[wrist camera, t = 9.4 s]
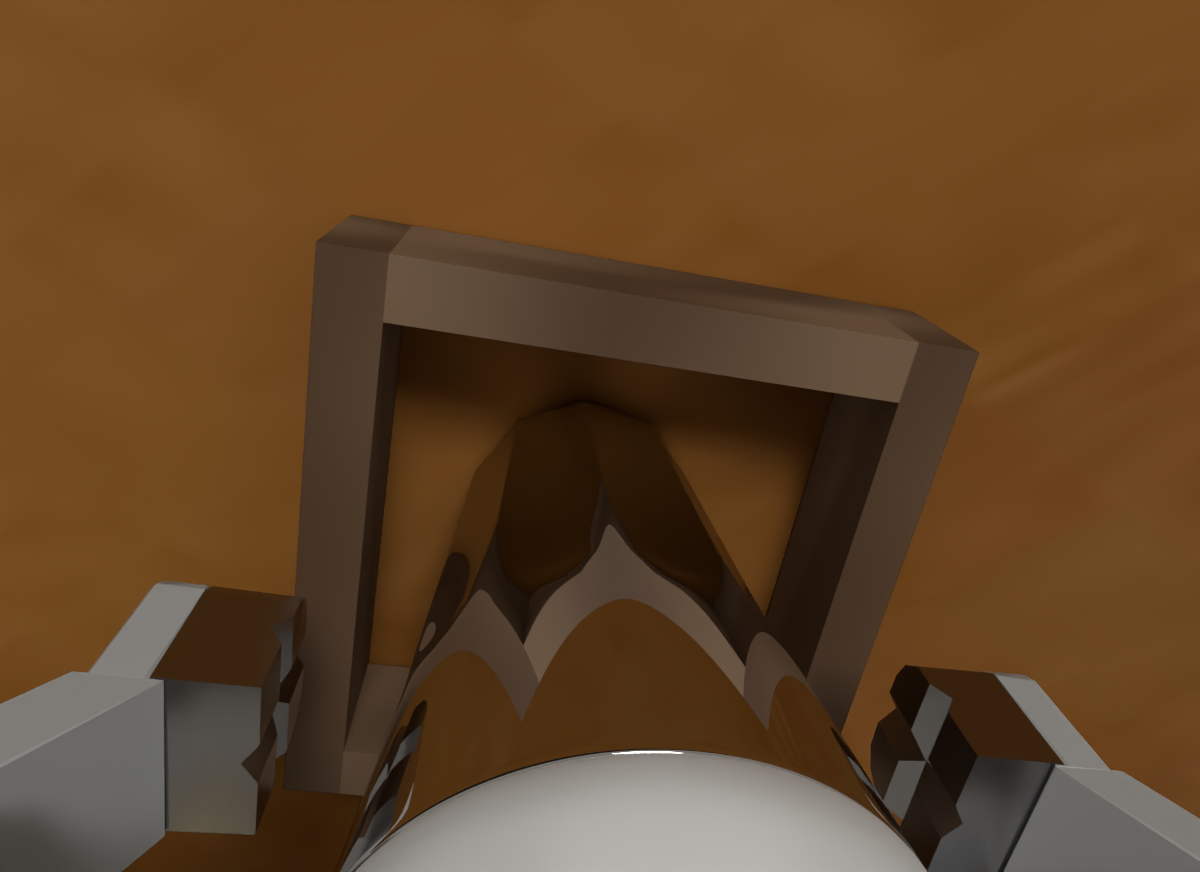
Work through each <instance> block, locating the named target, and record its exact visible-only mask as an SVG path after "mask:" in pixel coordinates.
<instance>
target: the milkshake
mask: <svg viewBox="0 0 1200 872" xmlns="http://www.w3.org/2000/svg"><path fill="white" fill-rule="evenodd" d="M334 872H927V871H926V869H925V868H924V866H923V865H922V863H921V861H920V859H919V858H918V856H917V854H916V853H915V851H914V849H913V848H912V846H911V844H910V843H909V841H908V840H907V838H906V836H905V835H904V833H903V832H902V830H901V828H900V827H899V825H898V824H897V822H896V821H895V819H894V817H893V816H892V814H891V813H890V811H889V809H888V808H887V806H886V805H885V803H884V801H883V800H882V798H881V797H880V795H879V794H878V792H877V790H876V789H875V787H874V786H873V784H872V782H871V781H870V779H869V778H868V776H867V775H866V773H865V771H864V770H863V768H862V767H861V765H860V763H859V762H858V760H857V759H856V757H855V755H854V754H853V752H852V751H851V749H850V748H849V746H848V744H847V743H846V741H845V740H844V738H843V736H842V735H841V733H840V732H839V730H838V729H837V727H836V725H835V724H834V722H833V721H832V719H831V718H830V716H829V714H828V713H827V711H826V710H825V708H824V706H823V705H822V703H821V702H820V700H819V699H818V697H817V695H816V694H815V692H814V691H813V689H812V688H811V686H810V684H809V683H808V681H807V680H806V678H805V677H804V675H803V674H802V672H801V671H800V669H799V668H798V666H797V665H796V663H795V662H794V660H793V659H792V657H791V656H790V654H789V653H788V651H787V650H786V649H785V647H784V646H783V645H782V643H781V642H780V641H779V639H778V638H777V637H776V635H775V634H774V633H773V631H772V630H771V628H770V626H769V624H768V623H767V621H766V619H765V617H764V616H763V614H762V612H761V610H760V608H759V607H758V605H757V603H756V601H755V600H754V598H753V596H752V594H751V592H750V591H749V589H748V587H747V585H746V584H745V582H744V580H743V578H742V576H741V575H740V573H739V571H738V569H737V567H736V566H735V564H734V562H733V560H732V559H731V557H730V555H729V553H728V551H727V550H726V548H725V546H724V544H723V542H722V541H721V539H720V537H719V535H718V534H717V532H716V530H715V528H714V526H713V525H712V523H711V521H710V519H709V517H708V516H707V514H706V512H705V510H704V509H703V507H702V505H701V503H700V501H699V500H698V498H697V496H696V494H695V492H694V491H693V489H692V487H691V485H690V484H689V482H688V480H687V478H686V477H685V475H684V474H683V472H682V471H681V469H680V468H679V466H678V465H677V463H676V462H675V461H674V459H673V458H672V456H671V455H670V453H669V452H668V450H667V449H666V447H665V446H664V444H663V443H662V441H661V440H660V438H659V437H658V435H657V434H656V432H655V430H654V429H653V427H652V426H651V425H650V423H648V422H646V421H643V420H640V419H637V418H634V417H631V416H628V415H625V414H622V413H619V412H616V411H613V410H611V409H608V408H605V407H602V406H599V405H596V404H594V403H591V402H588V401H582V402H579V403H575V404H571V405H568V406H564V407H560V408H557V409H553V410H549V411H545V412H542V413H538V414H534V415H530V416H526V417H522V418H519V419H518V420H517V421H516V423H515V424H514V425H513V426H512V427H511V429H510V430H509V431H508V432H507V433H506V435H505V436H504V437H503V438H502V440H501V441H500V442H499V443H498V444H497V446H496V447H495V448H494V449H493V450H492V452H491V453H490V454H489V455H488V456H487V458H486V459H485V460H484V461H483V462H482V463H481V465H480V466H479V467H478V468H477V470H476V472H475V475H474V478H473V481H472V484H471V487H470V490H469V493H468V496H467V499H466V502H465V505H464V507H463V510H462V513H461V516H460V519H459V522H458V525H457V528H456V531H455V534H454V537H453V540H452V543H451V546H450V549H449V552H448V555H447V558H446V561H445V564H444V567H443V570H442V573H441V576H440V579H439V582H438V585H437V588H436V591H435V594H434V597H433V600H432V603H431V606H430V609H429V613H428V616H427V619H426V622H425V625H424V628H423V631H422V634H421V637H420V640H419V643H418V646H417V649H416V652H415V655H414V659H413V662H412V665H411V668H410V671H409V674H408V677H407V680H406V683H405V685H404V688H403V691H402V694H401V697H400V700H399V702H398V705H397V708H396V710H395V713H394V716H393V718H392V721H391V724H390V726H389V729H388V732H387V734H386V737H385V740H384V742H383V745H382V748H381V750H380V753H379V756H378V758H377V761H376V763H375V766H374V769H373V771H372V774H371V777H370V779H369V782H368V785H367V787H366V790H365V792H364V795H363V798H362V800H361V803H360V806H359V808H358V811H357V814H356V816H355V819H354V821H353V824H352V827H351V829H350V832H349V835H348V837H347V840H346V843H345V845H344V848H343V850H342V853H341V856H340V858H339V861H338V864H337V866H336V869H335V871H334Z"/></svg>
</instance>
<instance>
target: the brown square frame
mask: <svg viewBox="0 0 1200 872" xmlns="http://www.w3.org/2000/svg"><path fill="white" fill-rule="evenodd" d="M402 325H403V326H410V327H416V328H423V329H429V330H435V331H442V332H448V333H455V334H461V335H467V336H474V337H480V338H487V339H493V340H499V341H506V342H512V343H518V344H525V345H531V346H538V347H544V348H550V349H557V350H563V351H570V352H576V353H582V354H589V355H595V356H602V357H608V358H614V359H621V360H627V361H634V362H640V363H646V364H653V365H659V366H666V367H672V368H678V369H685V370H691V371H698V372H704V373H710V374H717V375H723V376H730V377H736V378H742V379H749V380H755V381H762V382H768V383H774V384H781V385H787V386H794V387H800V388H806V389H813V390H819V391H826V392H832V393H834V395H833V399H832V402H831V405H830V409H829V412H828V415H827V419H826V422H825V425H824V428H823V432H822V435H821V438H820V442H819V445H818V448H817V451H816V455H815V458H814V461H813V465H812V468H811V471H810V475H809V478H808V481H807V484H806V488H805V491H804V494H803V498H802V501H801V504H800V508H799V511H798V514H797V517H796V521H795V524H794V527H793V531H792V534H791V537H790V540H789V544H788V547H787V550H786V554H785V557H784V560H783V564H782V567H781V570H780V573H779V577H778V580H777V583H776V587H775V590H774V593H773V597H772V600H771V603H770V606H769V610H768V613H767V616H766V621H767V623H768V624H769V626H770V628H771V630H772V631H773V633H774V634H775V635H776V637H777V638H778V639H779V641H780V642H781V643H782V645H783V646H784V647H785V649H786V650H787V651H788V653H789V654H790V656H791V657H792V659H793V660H794V662H795V663H796V665H797V666H798V668H799V669H800V671H801V672H802V674H803V675H804V677H805V678H806V680H807V681H808V683H809V684H810V686H811V688H812V689H813V691H814V692H815V694H816V695H817V697H818V699H819V700H820V702H821V703H822V705H823V706H824V708H825V710H826V711H827V713H828V714H829V716H830V718H831V719H832V721H833V722H834V724H835V725H836V727H837V729H838V730H839V732H840V733H841V732H842V729H843V726H844V723H845V721H846V718H847V715H848V712H849V710H850V707H851V704H852V701H853V699H854V696H855V693H856V690H857V688H858V685H859V682H860V679H861V677H862V674H863V671H864V668H865V666H866V663H867V660H868V657H869V655H870V652H871V649H872V646H873V644H874V641H875V638H876V635H877V633H878V630H879V627H880V624H881V622H882V619H883V616H884V613H885V611H886V608H887V605H888V602H889V600H890V597H891V594H892V591H893V589H894V586H895V583H896V580H897V578H898V575H899V572H900V569H901V567H902V564H903V561H904V558H905V556H906V553H907V550H908V547H909V545H910V542H911V539H912V536H913V534H914V531H915V528H916V525H917V523H918V520H919V517H920V514H921V512H922V509H923V506H924V503H925V501H926V498H927V495H928V492H929V490H930V487H931V484H932V481H933V479H934V476H935V473H936V470H937V468H938V465H939V462H940V459H941V457H942V454H943V451H944V448H945V446H946V443H947V440H948V437H949V435H950V432H951V429H952V426H953V424H954V421H955V418H956V415H957V413H958V410H959V407H960V404H961V402H962V399H963V396H964V393H965V391H966V388H967V385H968V382H969V380H970V377H971V374H972V371H973V369H974V366H975V363H976V360H977V358H978V355H979V352H978V351H976V350H974V349H973V348H971V347H970V346H968V345H966V344H965V343H963V342H961V341H960V340H958V339H957V338H955V337H953V336H952V335H950V334H949V333H947V332H945V331H944V330H942V329H940V328H939V327H937V326H936V325H934V324H932V323H931V322H929V321H927V320H926V319H924V318H923V317H921V316H919V315H918V314H916V313H914V312H911V311H906V310H900V309H894V308H888V307H882V306H877V305H871V304H865V303H859V302H853V301H848V300H842V299H836V298H830V297H824V296H819V295H813V294H807V293H801V292H795V291H789V290H784V289H778V288H772V287H766V286H760V285H755V284H749V283H743V282H737V281H731V280H726V279H720V278H714V277H708V276H702V275H697V274H691V273H685V272H679V271H673V270H668V269H662V268H656V267H650V266H644V265H638V264H633V263H627V262H621V261H615V260H609V259H604V258H598V257H592V256H586V255H580V254H575V253H569V252H563V251H557V250H551V249H546V248H540V247H534V246H528V245H522V244H517V243H511V242H505V241H499V240H493V239H487V238H482V237H476V236H470V235H464V234H458V233H453V232H447V231H441V230H435V229H429V228H424V227H418V226H412V225H406V224H400V223H395V222H389V221H383V220H377V219H371V218H366V217H360V216H354V215H351V216H350V217H348V218H347V219H346V220H344V221H343V222H342V223H340V224H339V225H338V226H336V227H335V228H334V229H332V230H331V231H330V232H328V233H327V234H326V235H324V236H323V237H322V238H320V239H319V240H318V241H316V252H315V269H314V286H313V303H312V319H311V336H310V353H309V370H308V386H307V403H306V420H305V437H304V453H303V470H302V487H301V504H300V520H299V537H298V554H297V571H296V587H295V597H301V598H305V600H306V604H307V624H306V633H305V636H304V638H303V641H302V643H301V646H300V648H299V651H298V653H297V656H298V657H299V659H300V660H301V661H302V663H303V664H304V672H303V685H302V692H301V698H300V705H299V709H298V713H297V718H296V722H295V726H294V730H293V733H292V736H291V739H290V742H289V745H288V748H287V751H286V755H285V772H284V789H288V790H300V791H313V792H325V793H337V794H349V795H361V796H363V795H364V792H365V790H366V787H367V785H368V782H369V779H370V777H371V774H372V771H373V769H374V766H375V763H376V761H377V758H378V756H379V753H380V750H381V748H382V745H383V742H384V740H385V737H386V734H387V732H388V729H389V726H390V724H391V721H392V718H393V716H394V713H395V710H396V708H397V705H398V702H399V700H400V697H401V694H402V691H403V688H404V685H405V683H406V680H407V677H408V674H409V671H410V668H407V667H398V666H388V665H378V664H369V663H368V662H369V652H370V642H371V632H372V622H373V612H374V602H375V592H376V582H377V573H378V563H379V553H380V543H381V533H382V523H383V513H384V503H385V493H386V483H387V473H388V463H389V453H390V443H391V433H392V423H393V413H394V403H395V394H396V384H397V374H398V364H399V354H400V344H401V334H402Z"/></svg>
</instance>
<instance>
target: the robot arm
mask: <svg viewBox="0 0 1200 872" xmlns="http://www.w3.org/2000/svg"><path fill="white" fill-rule="evenodd" d="M306 624H307V604H306V600H305V598H301V597H293V596H286V595H278V594H270V593H263V592H255V591H247V590H240V589H232V588H224V587H217V586H212V587H209V586H208V585H201V584H192V583H182V582H173V581H162V582H159V583H157V584H155V585H154V586H153V587H152V588H151V589H150V591H149V592H148V593H147V595H146V596H145V597H144V599H143V600H142V601H141V603H140V604H139V605H138V607H137V608H136V609H135V611H134V612H133V613H132V615H131V616H130V617H129V618H128V620H127V621H126V622H125V624H124V625H123V626H122V628H121V629H120V630H119V632H118V633H117V634H116V636H115V637H114V638H113V640H112V641H111V642H110V644H109V645H108V646H107V648H106V649H105V650H104V652H103V653H102V654H101V656H100V657H99V658H98V659H97V661H96V662H95V663H94V665H93V666H92V667H91V669H90V670H89V671H88V673H83V672H70V673H68V674H65V675H63V676H61V677H59V678H57V679H54V680H52V681H50V682H48V683H46V684H43V685H41V686H39V687H37V688H35V689H32V690H30V691H28V692H26V693H24V694H21V695H19V696H17V697H15V698H13V699H10V700H8V701H6V702H4V703H2V704H0V872H122V871H123V870H124V869H125V868H127V867H128V866H129V865H130V864H132V863H133V862H134V861H135V860H136V859H138V858H139V857H140V856H141V855H142V854H144V853H145V852H146V851H147V850H148V849H150V848H151V847H152V846H153V845H154V844H156V843H157V842H158V841H159V840H160V839H162V838H163V837H164V836H165V831H179V832H202V833H224V834H246V835H255V834H256V831H257V829H258V826H259V823H260V821H261V818H262V815H263V813H264V810H265V807H266V805H267V802H268V799H269V797H270V794H271V791H272V789H273V786H274V782H275V766H276V758H278V757H279V756H281V755H282V754H284V753H285V752H286V751H287V748H288V745H289V742H290V739H291V736H292V733H293V730H294V726H295V722H296V718H297V713H298V709H299V705H300V698H301V692H302V685H303V672H304V664H303V663H302V661H301V660H300V659H299V657H298V656H297V653H298V651H299V648H300V646H301V643H302V641H303V638H304V636H305V633H306ZM890 694H891V697H892V699H893V702H894V704H895V707H896V709H894V710H893V711H892V712H891V713H889V714H888V715H887V716H885V717H884V718H883V719H882V720H880V721H879V722H878V725H877V728H876V731H875V734H874V737H873V740H872V743H871V767H870V768H871V772H872V777H873V781H874V786H875V788H876V790H877V792H878V794H879V795H880V797H881V798H882V800H883V801H884V803H885V805H886V806H887V807H888V808H889V809H890V810H892V811H893V812H894V813H895V814H896V815H898V816H899V817H900V818H901V819H902V822H901V825H900V828H901V830H902V832H903V833H904V835H905V836H906V838H907V840H908V841H909V843H910V844H911V846H912V848H913V849H914V851H915V853H916V854H917V856H918V858H919V859H920V861H921V863H922V865H923V866H924V868H925V869H926V871H927V872H1200V819H1199V818H1197V817H1196V816H1194V815H1193V814H1191V813H1189V812H1188V811H1186V810H1184V809H1183V808H1181V807H1180V806H1178V805H1176V804H1175V803H1173V802H1171V801H1170V800H1168V799H1167V798H1165V797H1163V796H1162V795H1160V794H1158V793H1157V792H1155V791H1154V790H1152V789H1150V788H1149V787H1147V786H1145V785H1144V784H1142V783H1140V782H1139V781H1137V780H1136V779H1134V778H1132V777H1131V776H1129V775H1127V774H1126V773H1124V772H1123V771H1114V770H1110V769H1109V768H1108V767H1107V766H1106V765H1105V763H1104V762H1103V761H1102V760H1101V759H1100V757H1099V756H1098V755H1097V754H1096V753H1095V752H1094V750H1093V749H1092V748H1091V747H1090V746H1089V744H1088V743H1087V742H1086V741H1085V740H1084V738H1083V737H1082V736H1081V735H1080V734H1079V733H1078V731H1077V730H1076V729H1075V728H1074V727H1073V725H1072V724H1071V723H1070V722H1069V721H1068V720H1067V718H1066V717H1065V716H1064V715H1063V714H1062V712H1061V711H1060V710H1059V709H1058V708H1057V706H1056V705H1055V704H1054V703H1053V702H1052V701H1051V699H1050V698H1049V697H1048V696H1047V695H1046V693H1045V692H1044V691H1043V690H1042V689H1041V688H1040V686H1039V685H1038V684H1037V683H1036V682H1035V681H1034V680H1032V679H1030V678H1028V677H1027V676H1025V675H1023V674H1010V673H997V672H974V671H963V670H953V669H942V668H931V667H921V666H910V665H905V666H904V667H903V668H902V670H901V671H900V672H899V673H898V674H897V675H896V678H895V680H894V683H893V685H892V688H891V690H890Z"/></svg>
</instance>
